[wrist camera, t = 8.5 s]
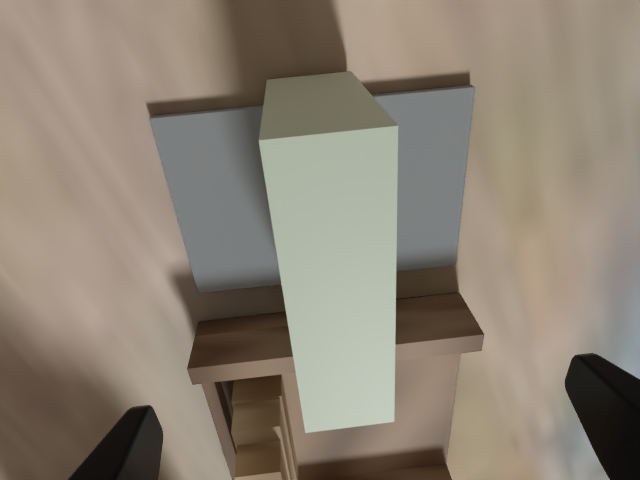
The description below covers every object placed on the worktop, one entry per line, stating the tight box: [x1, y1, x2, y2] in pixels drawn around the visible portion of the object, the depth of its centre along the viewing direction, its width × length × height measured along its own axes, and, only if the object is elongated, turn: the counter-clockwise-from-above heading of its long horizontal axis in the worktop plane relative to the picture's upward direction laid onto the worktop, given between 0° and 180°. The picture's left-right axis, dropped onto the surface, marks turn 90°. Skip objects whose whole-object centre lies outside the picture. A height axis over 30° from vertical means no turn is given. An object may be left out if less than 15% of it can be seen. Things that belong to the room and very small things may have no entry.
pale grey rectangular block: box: [259, 71, 398, 433], centre depth 15 cm, size 3×10×7 cm, turn 5°
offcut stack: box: [231, 374, 298, 480], centre depth 22 cm, size 2×8×4 cm, turn 4°
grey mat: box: [149, 85, 475, 294], centre depth 18 cm, size 12×8×1 cm, turn 94°
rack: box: [187, 293, 484, 480], centre depth 23 cm, size 13×14×3 cm
